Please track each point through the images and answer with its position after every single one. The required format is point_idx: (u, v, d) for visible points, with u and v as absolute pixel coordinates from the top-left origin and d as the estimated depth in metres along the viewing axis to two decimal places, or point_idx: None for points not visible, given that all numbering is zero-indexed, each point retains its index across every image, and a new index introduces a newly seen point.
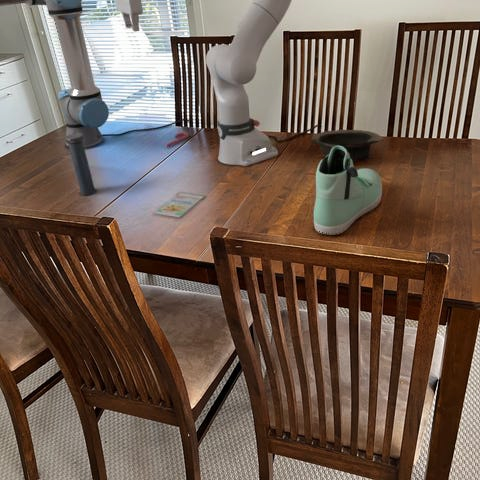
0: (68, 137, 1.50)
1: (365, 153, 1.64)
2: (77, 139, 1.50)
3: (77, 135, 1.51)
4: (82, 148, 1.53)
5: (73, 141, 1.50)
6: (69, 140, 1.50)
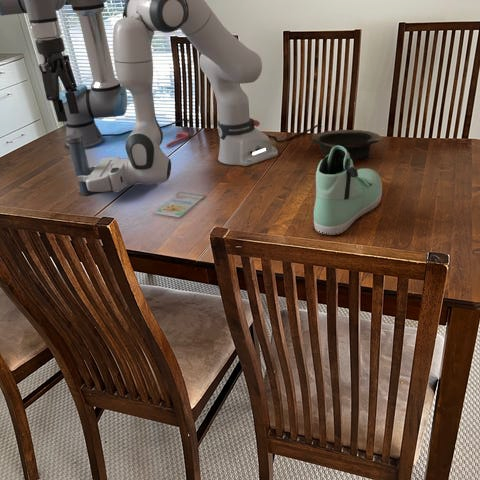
0: (68, 137, 1.50)
1: (365, 153, 1.64)
2: (77, 139, 1.50)
3: (77, 135, 1.52)
4: (82, 148, 1.53)
5: (73, 140, 1.50)
6: (69, 140, 1.50)
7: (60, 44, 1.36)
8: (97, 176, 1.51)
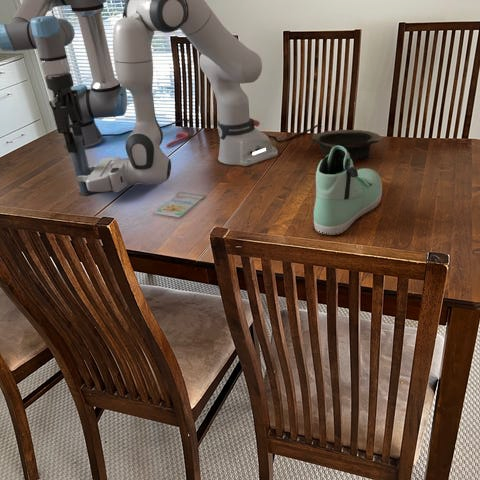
0: None
1: (365, 153, 1.64)
2: (77, 139, 1.50)
3: (77, 135, 1.52)
4: (82, 148, 1.53)
5: None
6: None
7: (69, 80, 1.41)
8: (97, 176, 1.51)
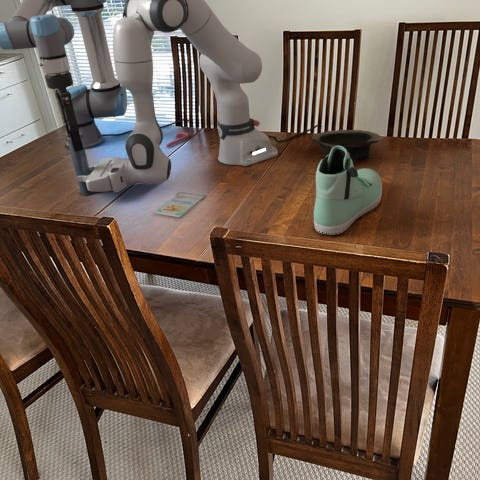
0: None
1: (365, 153, 1.64)
2: None
3: None
4: None
5: (81, 135, 1.52)
6: (81, 136, 1.51)
7: None
8: (97, 176, 1.51)
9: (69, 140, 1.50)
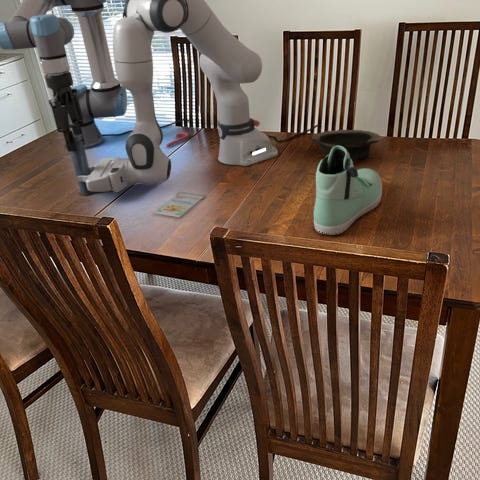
0: (77, 135, 1.50)
1: (365, 153, 1.64)
2: None
3: None
4: (82, 148, 1.53)
5: (81, 135, 1.52)
6: (81, 136, 1.51)
7: (68, 79, 1.41)
8: (97, 176, 1.51)
9: None
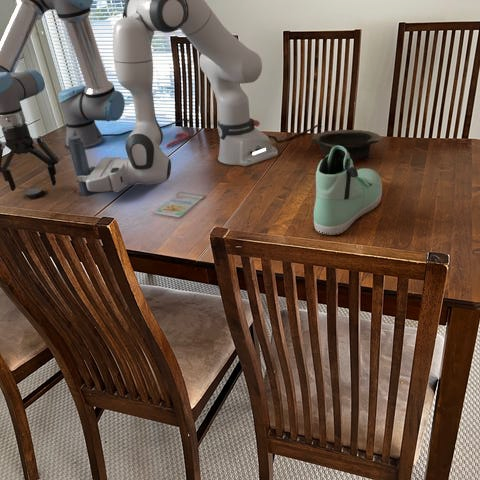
0: (37, 188, 1.63)
1: (365, 153, 1.64)
2: None
3: (31, 192, 1.61)
4: (82, 148, 1.53)
5: None
6: None
7: None
8: (97, 176, 1.51)
9: (42, 192, 1.62)
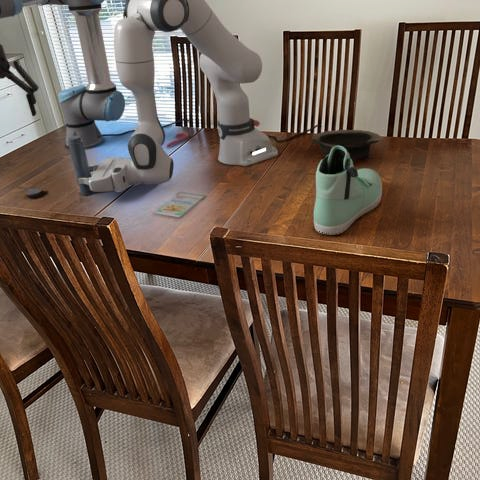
0: (37, 188, 1.63)
1: (365, 153, 1.64)
2: None
3: (31, 192, 1.61)
4: (82, 148, 1.53)
5: None
6: None
7: None
8: (100, 176, 1.51)
9: (42, 192, 1.62)
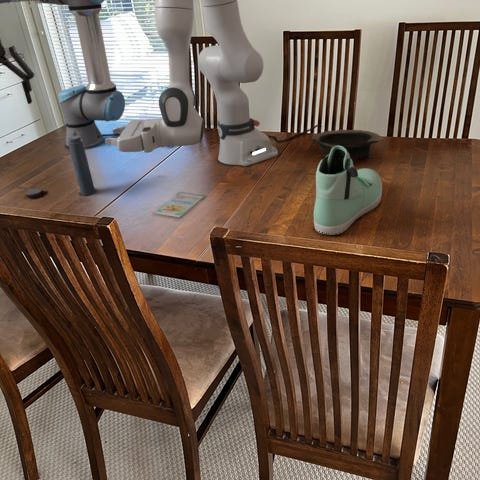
0: (37, 188, 1.63)
1: (365, 153, 1.64)
2: None
3: (31, 192, 1.61)
4: (82, 148, 1.53)
5: None
6: None
7: None
8: (128, 136, 1.44)
9: (42, 192, 1.62)
